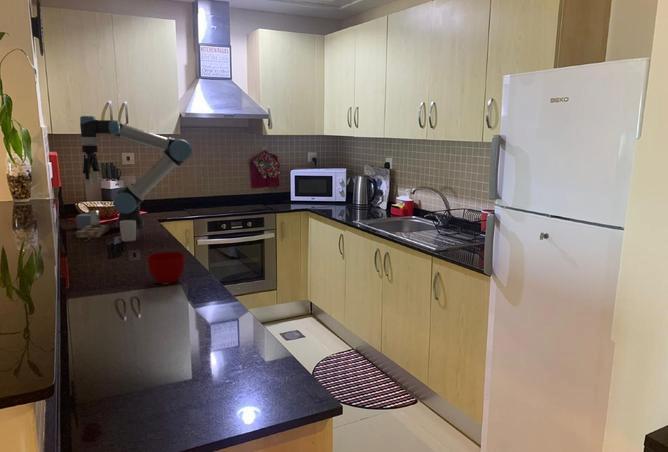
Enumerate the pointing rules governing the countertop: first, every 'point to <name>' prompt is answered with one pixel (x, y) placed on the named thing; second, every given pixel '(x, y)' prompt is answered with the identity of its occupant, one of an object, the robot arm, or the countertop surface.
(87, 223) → the slate blue cube
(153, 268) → the ceramic cup
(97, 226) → the peg
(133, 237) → the white cup
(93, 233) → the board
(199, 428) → the countertop surface
